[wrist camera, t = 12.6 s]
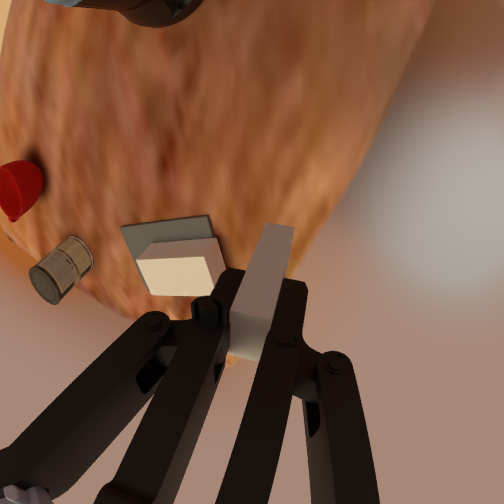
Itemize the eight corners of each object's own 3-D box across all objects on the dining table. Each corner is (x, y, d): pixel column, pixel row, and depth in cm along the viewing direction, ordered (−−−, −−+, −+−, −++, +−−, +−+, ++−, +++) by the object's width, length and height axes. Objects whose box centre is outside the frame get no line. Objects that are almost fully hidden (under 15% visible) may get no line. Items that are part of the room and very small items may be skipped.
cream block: (203, 256, 47) (135, 260, 51) (217, 296, 51) (151, 295, 55) (217, 236, 52) (152, 242, 56) (228, 274, 56) (166, 275, 60)
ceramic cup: (19, 195, 61) (-7, 212, 53) (25, 142, 52) (-6, 157, 44) (47, 221, 63) (20, 240, 55) (55, 167, 54) (22, 185, 45)
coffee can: (94, 276, 69) (61, 312, 57) (66, 259, 69) (32, 291, 57) (94, 246, 63) (55, 282, 51) (64, 229, 63) (25, 260, 51)
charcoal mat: (149, 288, 65) (147, 291, 64) (122, 225, 57) (119, 227, 56) (230, 289, 59) (229, 291, 58) (208, 214, 51) (206, 216, 50)
